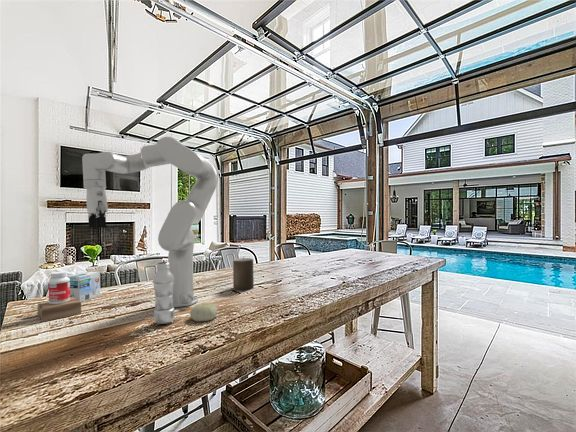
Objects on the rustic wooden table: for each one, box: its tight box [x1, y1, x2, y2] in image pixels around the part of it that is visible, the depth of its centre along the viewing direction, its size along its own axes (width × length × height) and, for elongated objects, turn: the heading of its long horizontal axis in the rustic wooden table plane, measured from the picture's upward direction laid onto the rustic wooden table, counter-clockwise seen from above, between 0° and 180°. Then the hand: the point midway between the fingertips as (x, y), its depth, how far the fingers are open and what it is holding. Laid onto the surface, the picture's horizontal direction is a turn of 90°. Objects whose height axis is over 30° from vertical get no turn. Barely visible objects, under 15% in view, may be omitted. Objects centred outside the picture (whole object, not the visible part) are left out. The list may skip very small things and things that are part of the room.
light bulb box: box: [67, 270, 101, 303], centre depth 125 cm, size 11×7×11 cm, turn 168°
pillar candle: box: [232, 257, 255, 291], centre depth 139 cm, size 10×10×15 cm
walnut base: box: [36, 297, 82, 323], centre depth 106 cm, size 11×11×4 cm
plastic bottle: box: [152, 261, 176, 325], centre depth 96 cm, size 6×7×20 cm
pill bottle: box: [48, 270, 70, 304], centre depth 106 cm, size 6×6×11 cm
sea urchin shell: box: [189, 302, 218, 323], centre depth 100 cm, size 9×8×8 cm
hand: (97, 227), depth 117 cm, fingers open, 9 cm apart
